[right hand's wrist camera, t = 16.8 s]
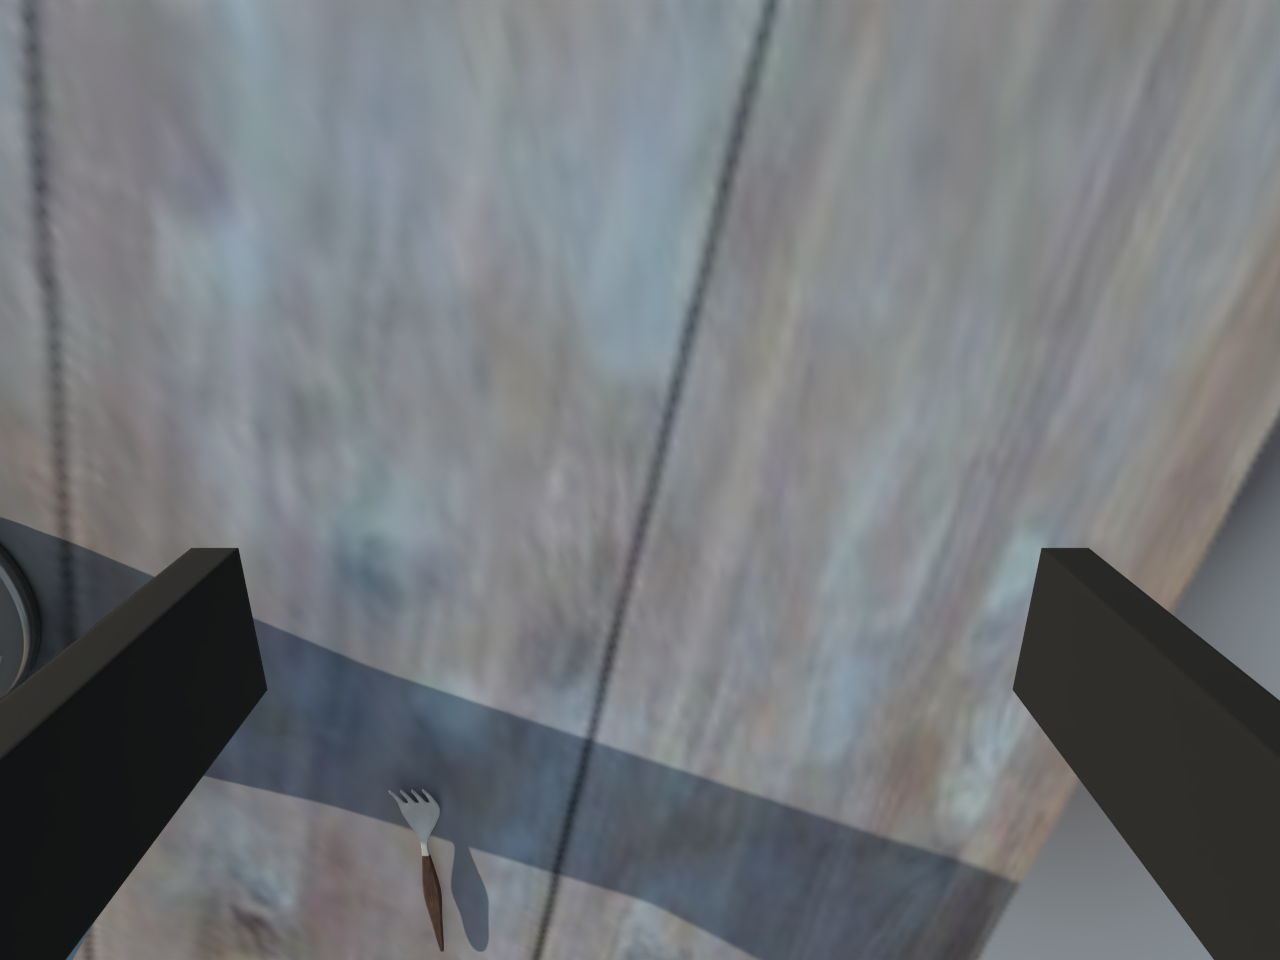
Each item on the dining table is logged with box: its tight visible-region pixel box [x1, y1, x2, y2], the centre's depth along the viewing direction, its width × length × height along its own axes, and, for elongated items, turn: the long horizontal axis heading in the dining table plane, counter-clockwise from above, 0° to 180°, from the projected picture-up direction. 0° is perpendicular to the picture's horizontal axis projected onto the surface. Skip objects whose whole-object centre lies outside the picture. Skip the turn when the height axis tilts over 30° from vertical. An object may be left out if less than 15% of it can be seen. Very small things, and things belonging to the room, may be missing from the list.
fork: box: [388, 789, 444, 952], centre depth 52 cm, size 3×16×2 cm, turn 2°
